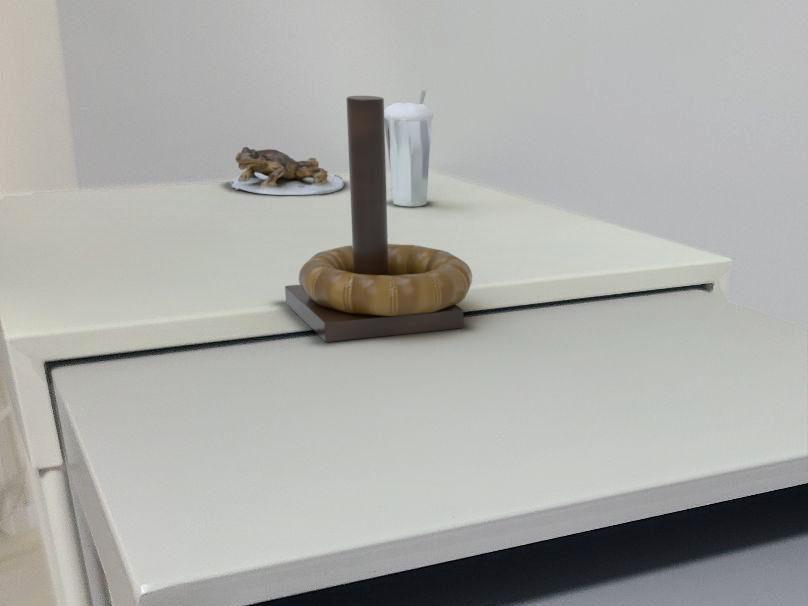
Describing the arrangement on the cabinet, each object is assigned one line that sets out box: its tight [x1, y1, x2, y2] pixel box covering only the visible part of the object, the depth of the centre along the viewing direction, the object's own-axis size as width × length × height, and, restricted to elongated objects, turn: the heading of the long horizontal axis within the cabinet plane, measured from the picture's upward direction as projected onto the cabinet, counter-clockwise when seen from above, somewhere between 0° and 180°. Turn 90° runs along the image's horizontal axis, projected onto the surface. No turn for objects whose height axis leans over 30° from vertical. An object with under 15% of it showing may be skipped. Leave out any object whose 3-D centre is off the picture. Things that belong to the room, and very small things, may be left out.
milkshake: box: [384, 89, 434, 208], centre depth 101 cm, size 4×5×10 cm
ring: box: [298, 243, 473, 316], centre depth 69 cm, size 11×11×2 cm
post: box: [284, 95, 464, 343], centre depth 67 cm, size 9×9×13 cm
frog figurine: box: [229, 146, 345, 196], centre depth 108 cm, size 12×12×4 cm
